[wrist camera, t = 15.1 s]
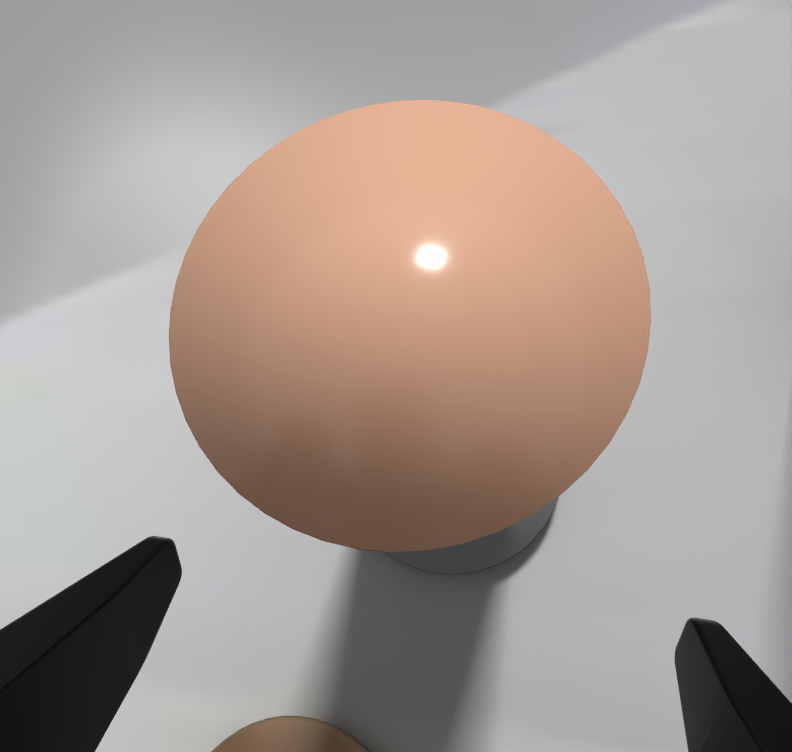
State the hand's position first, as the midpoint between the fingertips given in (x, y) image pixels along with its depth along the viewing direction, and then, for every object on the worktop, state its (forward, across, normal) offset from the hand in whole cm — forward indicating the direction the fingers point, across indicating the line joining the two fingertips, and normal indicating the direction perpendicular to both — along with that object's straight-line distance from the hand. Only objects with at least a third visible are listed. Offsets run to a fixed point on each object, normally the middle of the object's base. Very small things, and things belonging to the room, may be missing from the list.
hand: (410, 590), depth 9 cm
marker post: (+8, 0, +3) cm, 9 cm away
